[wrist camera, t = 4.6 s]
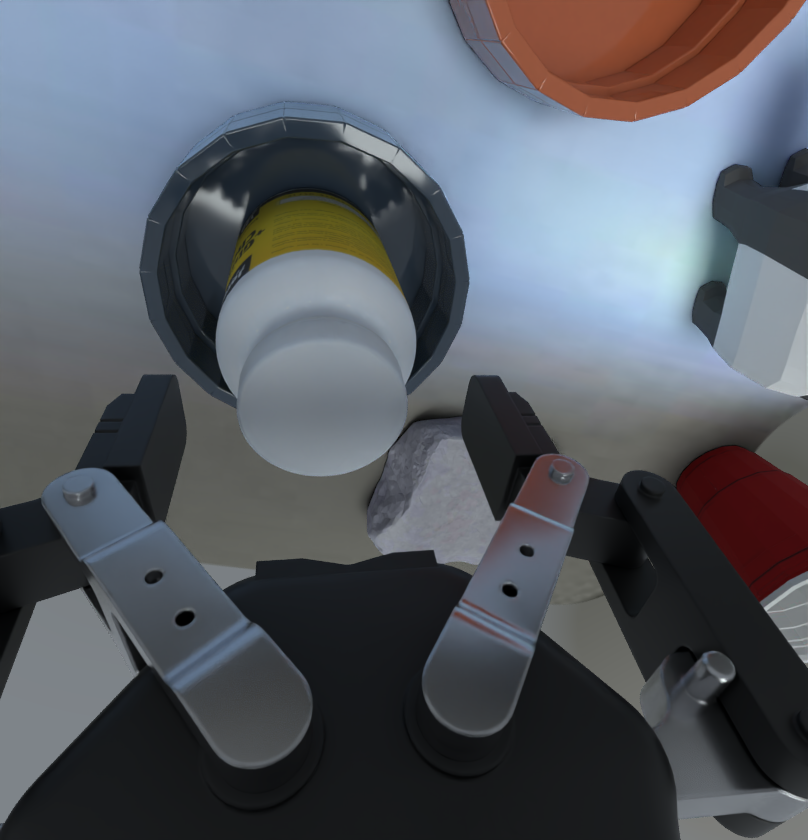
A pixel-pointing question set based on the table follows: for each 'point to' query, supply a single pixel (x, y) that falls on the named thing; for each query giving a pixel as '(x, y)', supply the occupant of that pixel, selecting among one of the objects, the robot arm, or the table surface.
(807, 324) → the giant panda
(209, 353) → the metal bowl
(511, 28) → the terracotta bowl
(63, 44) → the table surface
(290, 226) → the pill bottle
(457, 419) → the stone block
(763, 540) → the plastic cup
